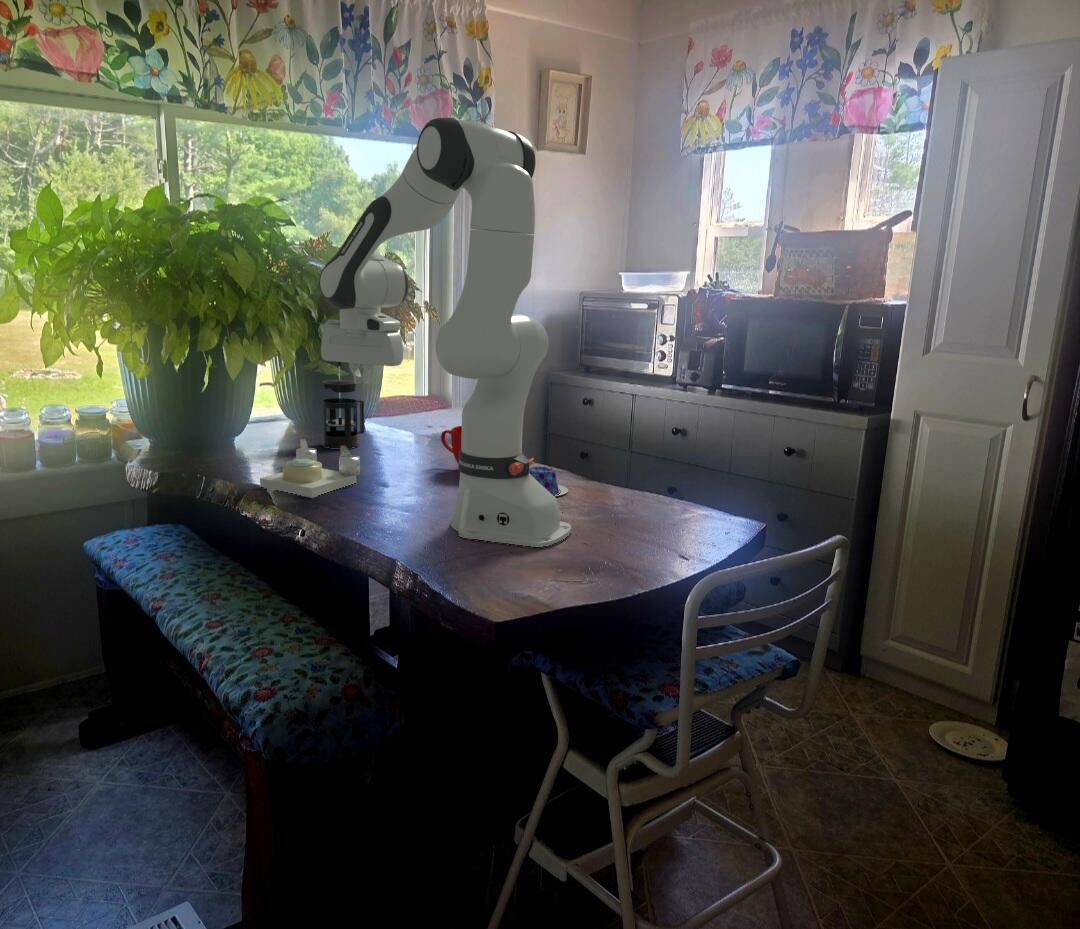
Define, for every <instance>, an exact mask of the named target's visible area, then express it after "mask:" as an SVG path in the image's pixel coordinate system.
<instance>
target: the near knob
mask: <svg viewBox="0 0 1080 929" xmlns="http://www.w3.org/2000/svg"><path fill="white" fill-rule="evenodd" d="M339 451H340V456H338V471H339V474H340V475H343V476H355V475H356V476H359V475H360V474H361V457H360V456H359V455H355V454H351V452H350V451H349V449H347V447H346V446H340V450H339Z"/></svg>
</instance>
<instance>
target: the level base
mask: <svg viewBox="0 0 1080 929" xmlns="http://www.w3.org/2000/svg"><path fill="white" fill-rule="evenodd" d="M281 467H282V470H281V471H282V472H277V473H273V474H270V475H267V476H264V477H259V484H260V485H259V487H260V488H261V487H264V488H263V489H266V488H268V489H267V490H271V489H274V490H273V491H275V490H279V491H278V492H280V491H284V492H283V493H285V492H288V493H287V494H290V493H293V494H292V495H295V494H297V495H296V496H300V495H301V497H306V498H310V499H313V498H316V497H319V496H318V495H320V496H322V495H321V494H323V495H325V494H324V493H326V494H328V493H327V492H329V493H331V492H330V491H332V492H334V491H333V490H335V491H337V490H336V489H338V490H340V489H339V488H341V489H343V488H342V487H344V488H346V487H345V486H347V487H349V486H348V485H350V486H352V485H351V484H353V485H355V484H354V483H356V484H357V475H355V476H343V475H340V474H339V470H338V471H337V470H333V469H327V468H323V463H322V462H320V461H318V460H317V461H314V460H310V459H296V457H295V458H293V459H292V460H289V461H285V462H283V463H282V464H281Z"/></svg>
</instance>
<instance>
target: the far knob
mask: <svg viewBox="0 0 1080 929" xmlns="http://www.w3.org/2000/svg"><path fill="white" fill-rule="evenodd" d="M308 446H309V445H308V442H307V440H306V438H300V439H299V448H297V449H295V454H296V455H295V458H296V459H310V460H314V461H318V457H317V456H318V454H317V453H318V452H317V448H314V447H308Z"/></svg>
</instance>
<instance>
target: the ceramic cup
mask: <svg viewBox="0 0 1080 929" xmlns="http://www.w3.org/2000/svg"><path fill="white" fill-rule="evenodd" d="M446 434H449V435H450V438H451V446H450V445H449V443H448V442H447V440H446ZM461 440H462V425H458V426H454V427H452V428H451V429H446V430H444V431H442V432H441V435H440V441H441V444H442V445H443V447H444V448H445V450H448V451H449V452H450V453H452V454H453V456H454V459H455V461H456V463H457V464H458V460H459V451H460V450H461Z"/></svg>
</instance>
